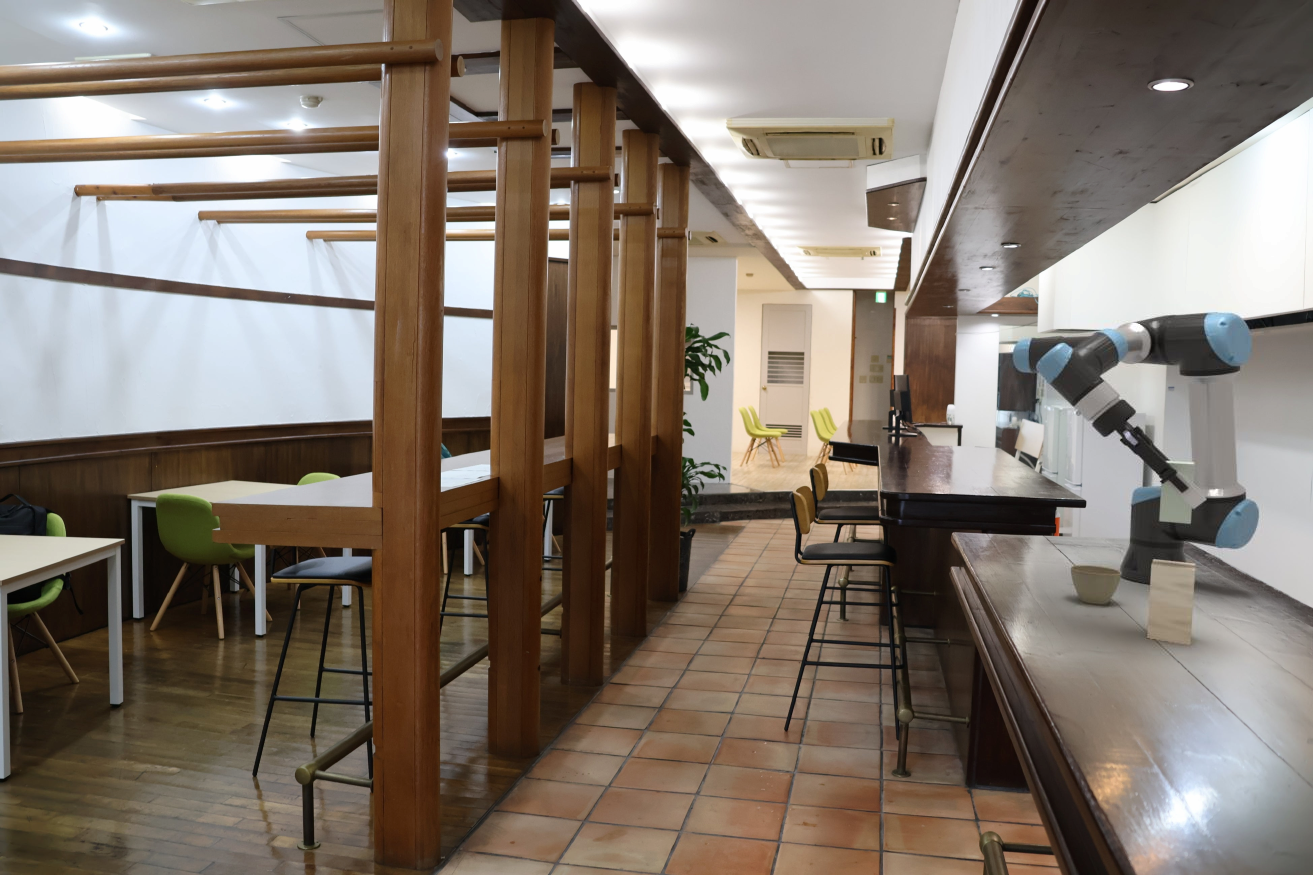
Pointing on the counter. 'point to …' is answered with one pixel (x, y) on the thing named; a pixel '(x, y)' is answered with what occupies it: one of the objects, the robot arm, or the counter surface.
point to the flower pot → (1095, 583)
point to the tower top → (1172, 583)
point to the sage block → (1176, 496)
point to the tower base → (1170, 623)
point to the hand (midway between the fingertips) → (1199, 502)
